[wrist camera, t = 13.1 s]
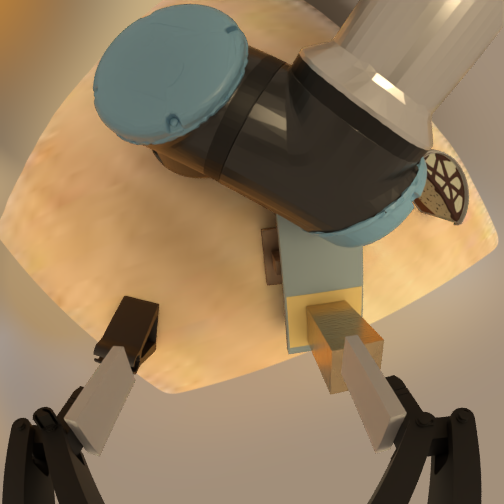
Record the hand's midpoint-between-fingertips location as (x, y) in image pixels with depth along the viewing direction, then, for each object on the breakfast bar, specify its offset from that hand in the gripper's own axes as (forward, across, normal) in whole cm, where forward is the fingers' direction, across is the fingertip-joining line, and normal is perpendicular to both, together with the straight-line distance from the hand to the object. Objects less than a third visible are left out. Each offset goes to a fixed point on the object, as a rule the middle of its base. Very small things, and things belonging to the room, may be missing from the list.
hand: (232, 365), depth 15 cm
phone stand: (+26, -18, -11) cm, 33 cm away
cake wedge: (+27, +29, +10) cm, 41 cm away
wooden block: (+17, +10, -7) cm, 21 cm away
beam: (+18, +10, 0) cm, 21 cm away
